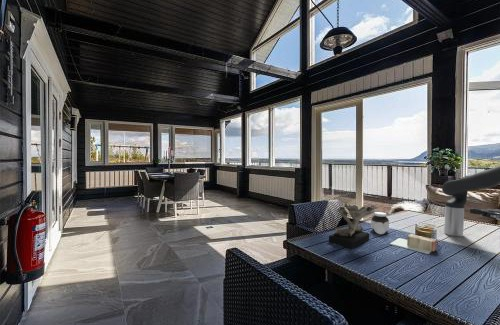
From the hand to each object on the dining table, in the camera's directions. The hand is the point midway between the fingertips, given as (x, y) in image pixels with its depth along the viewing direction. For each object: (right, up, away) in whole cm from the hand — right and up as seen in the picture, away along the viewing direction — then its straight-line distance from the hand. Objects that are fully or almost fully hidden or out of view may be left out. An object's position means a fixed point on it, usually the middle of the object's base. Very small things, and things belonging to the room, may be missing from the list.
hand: (470, 210), depth 123 cm
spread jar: (-21, -22, +42) cm, 52 cm away
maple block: (-9, -20, +11) cm, 24 cm away
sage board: (-16, -23, +18) cm, 33 cm away
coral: (-44, -22, +24) cm, 55 cm away
